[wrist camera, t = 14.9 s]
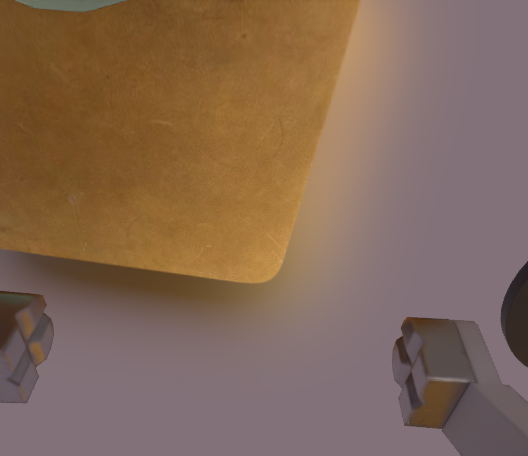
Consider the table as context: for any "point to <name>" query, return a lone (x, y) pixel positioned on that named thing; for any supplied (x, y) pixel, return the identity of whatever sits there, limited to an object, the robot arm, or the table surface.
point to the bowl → (69, 4)
